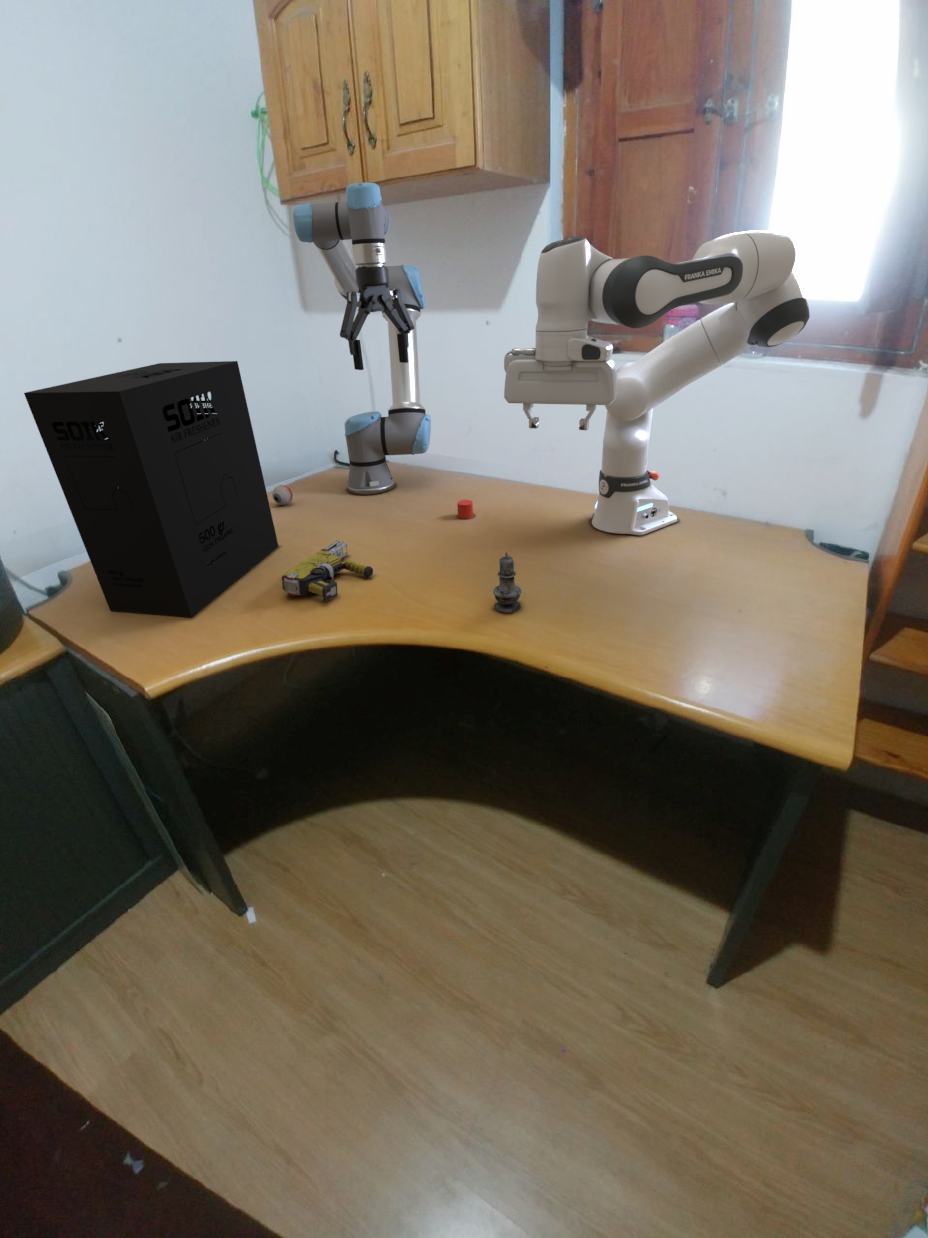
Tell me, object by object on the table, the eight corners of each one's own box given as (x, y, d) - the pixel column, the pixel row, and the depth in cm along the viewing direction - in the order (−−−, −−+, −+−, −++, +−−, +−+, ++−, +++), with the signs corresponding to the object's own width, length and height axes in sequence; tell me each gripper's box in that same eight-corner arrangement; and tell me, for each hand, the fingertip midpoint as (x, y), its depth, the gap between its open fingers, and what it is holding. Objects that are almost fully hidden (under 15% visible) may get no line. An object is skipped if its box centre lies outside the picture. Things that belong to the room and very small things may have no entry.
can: (458, 519, 169) (457, 505, 167) (457, 514, 172) (456, 500, 170) (473, 518, 169) (473, 504, 167) (472, 513, 172) (472, 499, 170)
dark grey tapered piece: (519, 614, 120) (519, 559, 114) (490, 612, 122) (489, 558, 116) (523, 600, 125) (523, 546, 119) (495, 598, 127) (493, 545, 121)
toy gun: (389, 548, 145) (334, 537, 149) (339, 588, 125) (277, 575, 129) (389, 566, 147) (335, 555, 151) (340, 608, 127) (279, 595, 131)
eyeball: (269, 507, 186) (265, 488, 183) (282, 500, 191) (278, 481, 188) (285, 508, 183) (282, 489, 180) (298, 502, 188) (294, 483, 185)
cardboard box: (191, 617, 126) (119, 391, 104) (110, 610, 131) (23, 392, 108) (278, 546, 158) (237, 360, 135) (210, 542, 162) (159, 363, 140)
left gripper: (333, 267, 128) (347, 373, 139) (423, 263, 143) (430, 360, 153) (315, 268, 133) (330, 371, 144) (404, 265, 147) (412, 358, 158)
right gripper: (498, 350, 106) (500, 430, 113) (616, 349, 99) (610, 434, 106) (509, 346, 111) (509, 423, 118) (622, 344, 104) (616, 426, 111)
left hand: (382, 365), depth 148 cm, fingers open, 13 cm apart
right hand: (558, 428), depth 112 cm, fingers open, 8 cm apart
